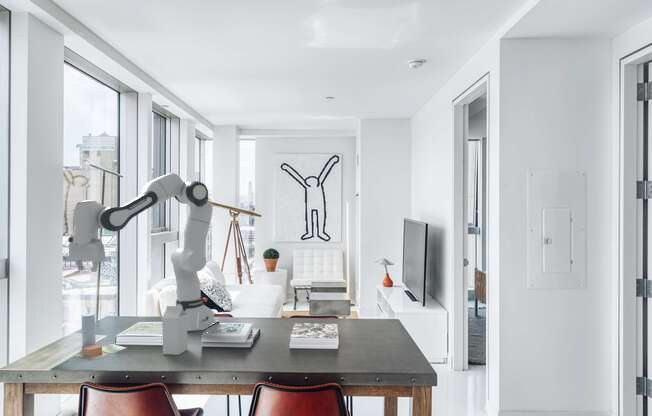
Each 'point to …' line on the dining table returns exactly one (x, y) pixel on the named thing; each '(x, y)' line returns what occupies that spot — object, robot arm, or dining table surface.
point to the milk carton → (174, 330)
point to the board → (104, 351)
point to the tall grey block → (88, 330)
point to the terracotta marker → (92, 350)
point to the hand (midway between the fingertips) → (87, 270)
